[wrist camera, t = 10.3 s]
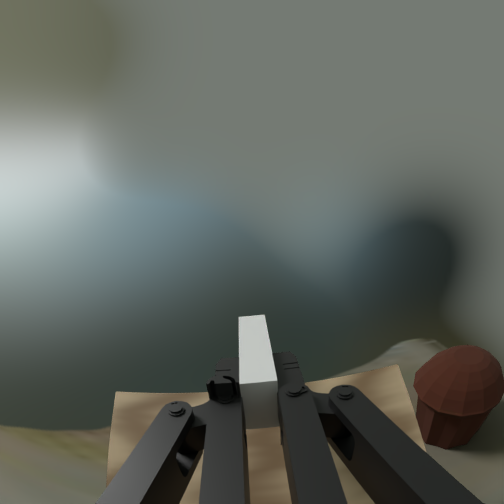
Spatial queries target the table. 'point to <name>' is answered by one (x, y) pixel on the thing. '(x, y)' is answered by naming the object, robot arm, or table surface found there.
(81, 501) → the table surface
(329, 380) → the flap
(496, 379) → the muffin
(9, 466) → the table surface
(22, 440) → the table surface
